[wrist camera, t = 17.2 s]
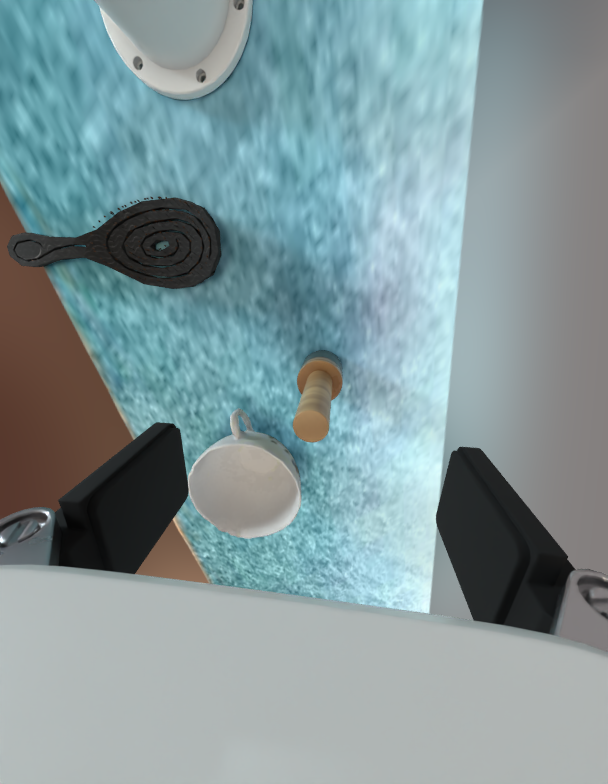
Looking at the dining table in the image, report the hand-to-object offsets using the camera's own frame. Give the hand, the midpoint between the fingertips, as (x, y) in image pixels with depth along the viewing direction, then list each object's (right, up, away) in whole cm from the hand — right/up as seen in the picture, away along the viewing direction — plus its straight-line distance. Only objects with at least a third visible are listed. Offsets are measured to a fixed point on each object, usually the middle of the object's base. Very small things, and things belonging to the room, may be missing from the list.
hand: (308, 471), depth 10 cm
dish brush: (+2, +5, +24) cm, 25 cm away
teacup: (-6, -4, +29) cm, 30 cm away
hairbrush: (-20, +18, +22) cm, 35 cm away
